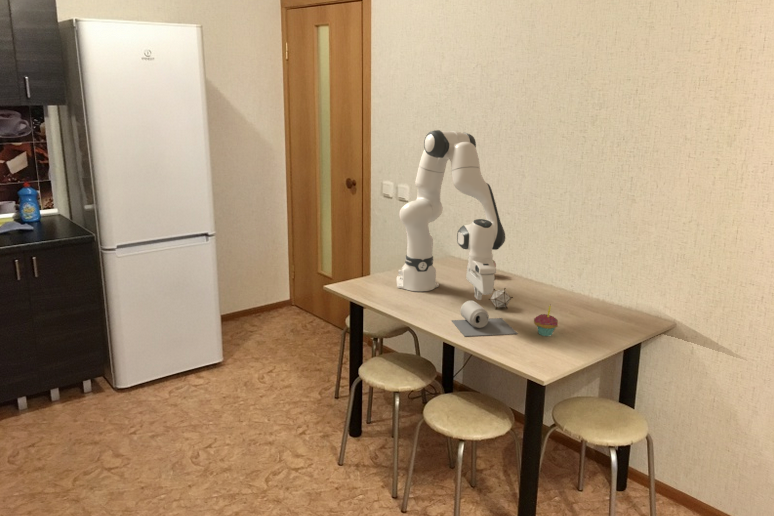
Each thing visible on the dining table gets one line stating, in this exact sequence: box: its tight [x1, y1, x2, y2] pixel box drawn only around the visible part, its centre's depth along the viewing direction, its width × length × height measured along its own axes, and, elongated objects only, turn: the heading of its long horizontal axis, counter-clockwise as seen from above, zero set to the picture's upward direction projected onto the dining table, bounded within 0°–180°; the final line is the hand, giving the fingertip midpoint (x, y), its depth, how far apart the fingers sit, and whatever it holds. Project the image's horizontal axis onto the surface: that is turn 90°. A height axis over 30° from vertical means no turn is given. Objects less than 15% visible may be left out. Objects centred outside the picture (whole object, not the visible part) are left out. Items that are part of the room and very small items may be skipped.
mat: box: [450, 317, 519, 338], centre depth 241 cm, size 16×20×1 cm
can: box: [459, 299, 490, 328], centre depth 243 cm, size 8×8×12 cm
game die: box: [488, 287, 514, 310], centre depth 262 cm, size 9×8×10 cm
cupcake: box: [533, 304, 559, 337], centre depth 235 cm, size 9×8×12 cm
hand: (478, 298), depth 247 cm, fingers closed
